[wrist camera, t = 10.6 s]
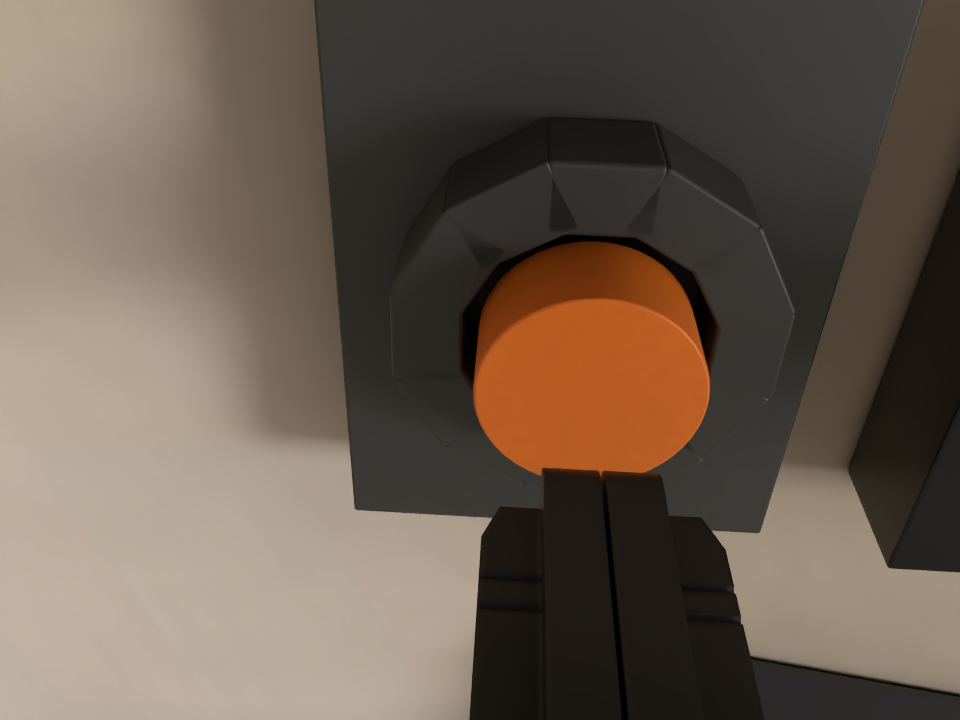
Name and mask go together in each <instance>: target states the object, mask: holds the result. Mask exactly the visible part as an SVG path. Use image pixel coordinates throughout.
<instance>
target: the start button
mask: <svg viewBox="0 0 960 720" xmlns="http://www.w3.org/2000/svg"><path fill="white" fill-rule="evenodd" d="M709 395H710V377H709V372H708V367H707V363H706V359H705V356H704V352H703V348H702V344H701V340H700V337H699V333H698V329H697V325H696V321H695V318H694V314H693V310H692V307H691V304H690V301H689V299H688V296H687V294H686V292H685V291H684V289H683V287H682V285H681V284H680V283H679V281H678V280H677V279H676V278H675V276H674V275H673V274H672V273H671V272H670V271H669V270H668V269H666V268H665V267H664V266H663V265H662V264H660V263H659V262H657V261H656V260H655V259H653V258H651V257H649V256H648V255H646V254H644V253H642V252H640V251H637V250H635V249H632V248H629V247H626V246H622V245H618V244H614V243H607V242H598V241H581V242H573V243H566V244H562V245H558V246H554V247H550V248H548V249H545V250H542V251H540V252H537V253H536V254H534V255H532V256H530V257H528V258H526V259H524V260H523V261H521V262H520V263H519V264H517V265H516V266H514V267H513V268H512V269H511V270H510V271H508V272H507V273H506V274H505V275H504V276H503V277H502V278H501V279H500V281H499V282H498V283H497V284H496V285H495V287H494V288H493V290H492V291H491V293H490V295H489V296H488V298H487V300H486V303H485V305H484V307H483V310H482V314H481V318H480V324H479V333H478V344H477V354H476V364H475V375H474V385H473V400H474V407H475V411H476V415H477V418H478V420H479V423H480V425H481V427H482V429H483V430H484V432H485V434H486V435H487V437H488V438H489V440H490V441H491V442H492V443H493V445H494V446H495V447H496V448H497V449H498V450H499V451H500V452H501V453H502V454H503V455H504V456H506V457H507V458H508V459H510V460H511V461H513V462H514V463H515V464H517V465H519V466H521V467H522V468H524V469H526V470H528V471H531V472H533V473H535V474H538V475H540V476H541V472H542V468H561V469H579V470H597V471H599V473H600V476H601V473H602V471H620V472H638V473H644V472H646V471H649V470H651V469H653V468H655V467H657V466H658V465H660V464H662V463H663V462H665V461H666V460H668V459H669V458H671V457H672V456H674V455H675V454H676V453H677V452H678V451H679V450H681V449H682V448H683V447H684V446H685V445H686V443H687V442H688V441H689V440H690V439H691V438H692V436H693V435H694V434H695V432H696V431H697V429H698V428H699V426H700V424H701V422H702V420H703V418H704V415H705V412H706V409H707V406H708V402H709Z"/></svg>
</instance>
